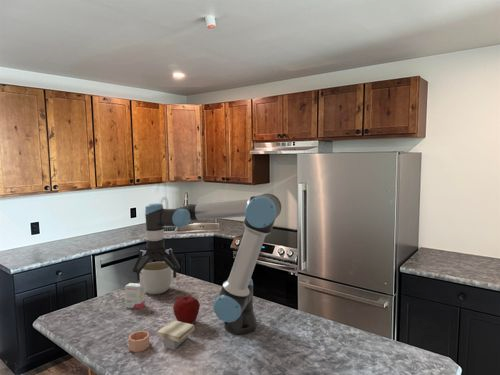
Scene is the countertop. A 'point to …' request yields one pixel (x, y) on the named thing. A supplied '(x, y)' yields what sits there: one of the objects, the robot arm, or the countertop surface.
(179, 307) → the apple
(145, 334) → the bowl
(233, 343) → the countertop surface
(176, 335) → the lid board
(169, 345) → the grey rectangular block
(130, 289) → the ink box
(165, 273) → the planter
